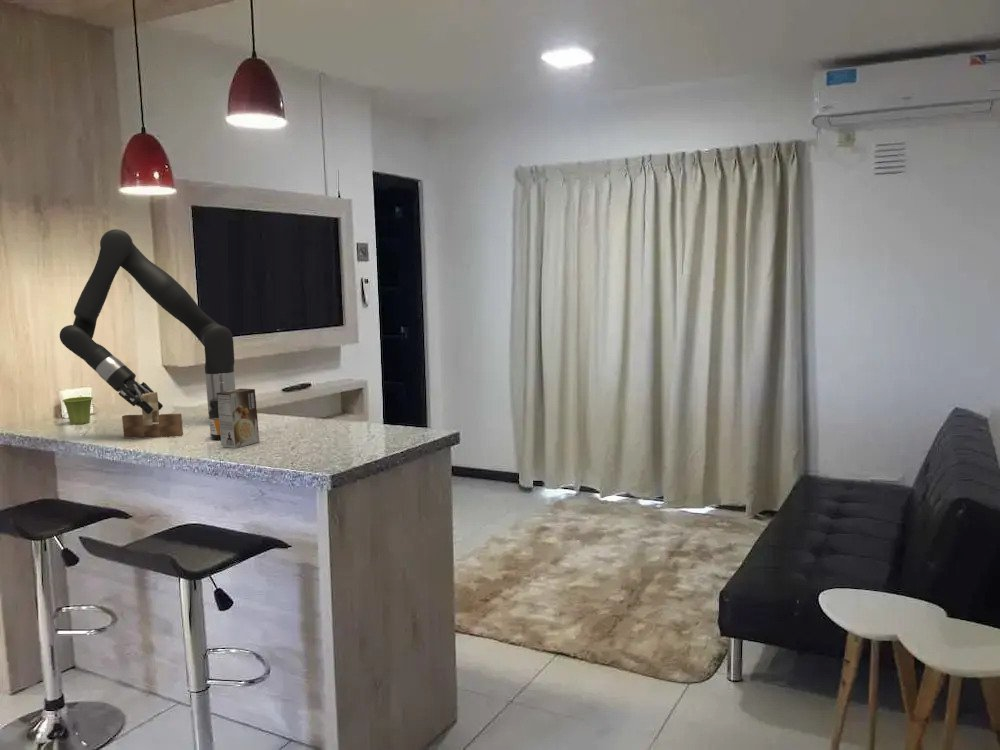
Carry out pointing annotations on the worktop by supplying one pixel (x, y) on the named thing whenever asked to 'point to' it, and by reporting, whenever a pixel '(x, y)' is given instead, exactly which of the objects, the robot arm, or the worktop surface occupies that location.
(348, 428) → the worktop surface
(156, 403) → the wooden arch block
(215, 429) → the supplement container
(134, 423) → the walnut board
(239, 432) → the coffee box
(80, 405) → the plant pot
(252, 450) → the worktop surface
